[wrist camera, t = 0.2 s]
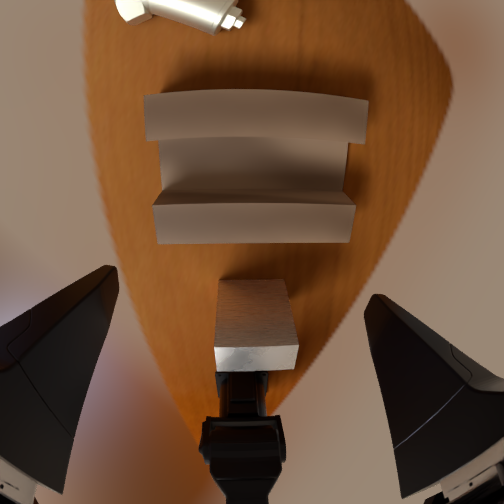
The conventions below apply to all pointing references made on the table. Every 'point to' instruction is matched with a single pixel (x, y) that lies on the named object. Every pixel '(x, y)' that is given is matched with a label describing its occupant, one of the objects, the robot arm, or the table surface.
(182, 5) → the pipe fitting
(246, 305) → the brushed metal bar
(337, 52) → the table surface
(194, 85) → the table surface
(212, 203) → the grey u-channel
